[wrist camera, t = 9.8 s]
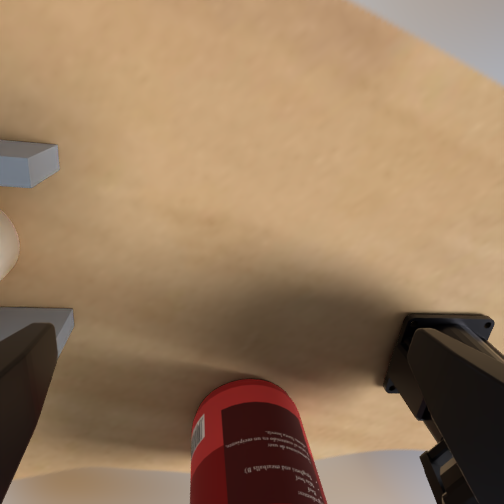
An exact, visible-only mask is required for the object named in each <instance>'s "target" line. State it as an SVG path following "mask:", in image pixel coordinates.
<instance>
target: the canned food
mask: <svg viewBox="0 0 504 504" xmlns="http://www.w3.org/2000/svg"><path fill="white" fill-rule="evenodd" d="M190 491H191V492H190V504H327V501H326V498H325V495H324V492H323V488H322V485H321V482H320V479H319V476H318V472H317V470H316V466H315V463H314V460H313V457H312V453H311V450H310V447H309V444H308V441H307V437H306V434H305V431H304V428H303V425H302V421H301V418H300V415H299V412H298V410H297V407H296V405H295V404H294V402H293V401H292V400H291V398H290V397H289V396H288V395H287V393H286V392H285V391H284V390H283V389H281V388H280V387H279V386H277V385H275V384H273V383H271V382H268V381H264V380H258V379H243V380H237V381H233V382H230V383H227V384H225V385H222V386H220V387H219V388H217V389H215V390H214V391H212V392H211V393H210V394H209V395H208V396H207V397H206V398H205V399H204V400H203V402H202V403H201V404H200V406H199V408H198V410H197V413H196V415H195V418H194V421H193V425H192V439H191V487H190Z"/></svg>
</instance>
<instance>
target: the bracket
mask: <svg viewBox="0 0 504 504" xmlns="http://www.w3.org/2000/svg"><path fill="white" fill-rule="evenodd" d="M59 170H60V167H59V156H58V146H57V145H54V144H43V143H32V142H20V141H9V140H0V186H8V187H22V188H32V187H34V186H35V185H37V184H39V183H40V182H42V181H43V180H45V179H46V178H48V177H49V176H51V175H53V174H54V173H56V172H57V171H59ZM34 322H47V323H52V324H53V325H54V327H55V332H56V341H57V349H58V357H59V355H60V353H61V351H62V349H63V347H64V345H65V343H66V341H67V339H68V337H69V335H70V333H71V332H72V330H73V328H74V317H73V309H68V308H20V307H0V341H1V340H3V339H5V338H6V337H8V336H10V335H12V334H13V333H15V332H17V331H19V330H20V329H22V328H24V327H26V326H28V325H29V324H31V323H34ZM57 359H58V358H57Z"/></svg>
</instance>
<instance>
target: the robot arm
mask: <svg viewBox="0 0 504 504" xmlns="http://www.w3.org/2000/svg"><path fill="white" fill-rule="evenodd" d="M413 321H414V322H413ZM411 322H413V323H411ZM493 327H494V321H493V320H492V319H491V318H490V317H489V316H470V315H424V314H411V315H409V316H407V317H406V318H405V320H404V322H403V325H402V328H401V331H400V334H399V337H398V340H397V344H396V346H395V349H394V352H393V355H392V358H391V361H390V364H389V367H388V370H387V374H386V377H385V380H384V384H383V387H384V389H385V390H386V392H387V393H400V395H401V396H402V398H403V399H404V401H405V402H406V404H407V406H408V407H409V409H410V410H411V412H412V413H413V415H414V416H415V418H416V419H417V420H418V421H423V422H424V423H425V425H426V426H427V428H428V429H429V431H430V432H431V434H432V435H433V437H434V438H435V440H436V441H437V443H438V444H437V445H435V446H434V447H433V448H432V449H431V450H429V451H425V452H424V453H423V454H422V455H421V456H420V460H421V462H422V465H423V467H424V471H425V474H426V477H427V479H428V482H429V484H430V487H431V490H432V492H433V494H434V497H435V500H436V502H437V504H504V355H503V354H502V353H501V352H499V351H498V350H497V349H496V348H495V347H494V346H493V345H492V344H490V343H489V342H488V341H487V340H488V338H489V336H490V333H491V331H492V329H493ZM57 358H58V349H57V341H56V332H55V327H54V325H53V324H52V323H47V322H34V323H31V324H29V325H28V326H26V327H24V328H22V329H20V330H19V331H17V332H15V333H13V334H12V335H10V336H8V337H6V338H5V339H3V340H1V341H0V504H2V502H3V499H4V497H5V495H6V493H7V490H8V488H9V486H10V484H11V482H12V479H13V477H14V475H15V473H16V471H17V468H18V466H19V464H20V462H21V459H22V457H23V455H24V453H25V450H26V448H27V446H28V444H29V442H30V439H31V437H32V435H33V432H34V430H35V428H36V425H37V422H38V419H39V417H40V414H41V410H42V407H43V404H44V401H45V398H46V395H47V391H48V388H49V385H50V382H51V379H52V376H53V372H54V369H55V366H56V363H57Z"/></svg>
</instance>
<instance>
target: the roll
mask: <svg viewBox="0 0 504 504" xmlns="http://www.w3.org/2000/svg"><path fill="white" fill-rule="evenodd" d="M19 253H20V241H19V236H18V233H17V231H16V229H15V227H14V225H13V223H12V222H11V220H10V219H9V217H8V216H7V215H6V214H5V213H4V212H3V211H2V210H1V209H0V281H1V280H2V279H3V278H4V277H5V276H6V275H7V274H8V273H9V272H10V270H11V269H12V268H13V267H14V266H15V264H16V262H17V260H18V257H19Z"/></svg>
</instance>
